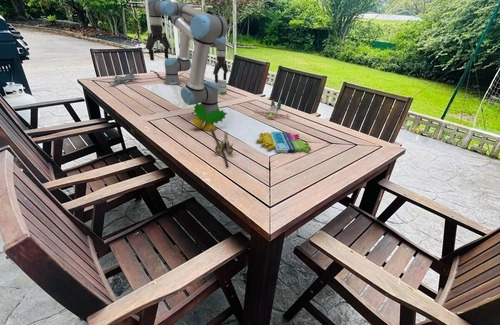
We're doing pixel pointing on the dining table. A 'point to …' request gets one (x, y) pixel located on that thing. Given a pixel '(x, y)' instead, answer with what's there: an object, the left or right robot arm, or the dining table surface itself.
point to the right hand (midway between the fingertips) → (159, 59)
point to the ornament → (207, 117)
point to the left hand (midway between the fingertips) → (220, 81)
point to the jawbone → (224, 145)
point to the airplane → (124, 78)
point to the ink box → (222, 87)
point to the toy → (272, 110)
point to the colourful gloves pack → (283, 142)
